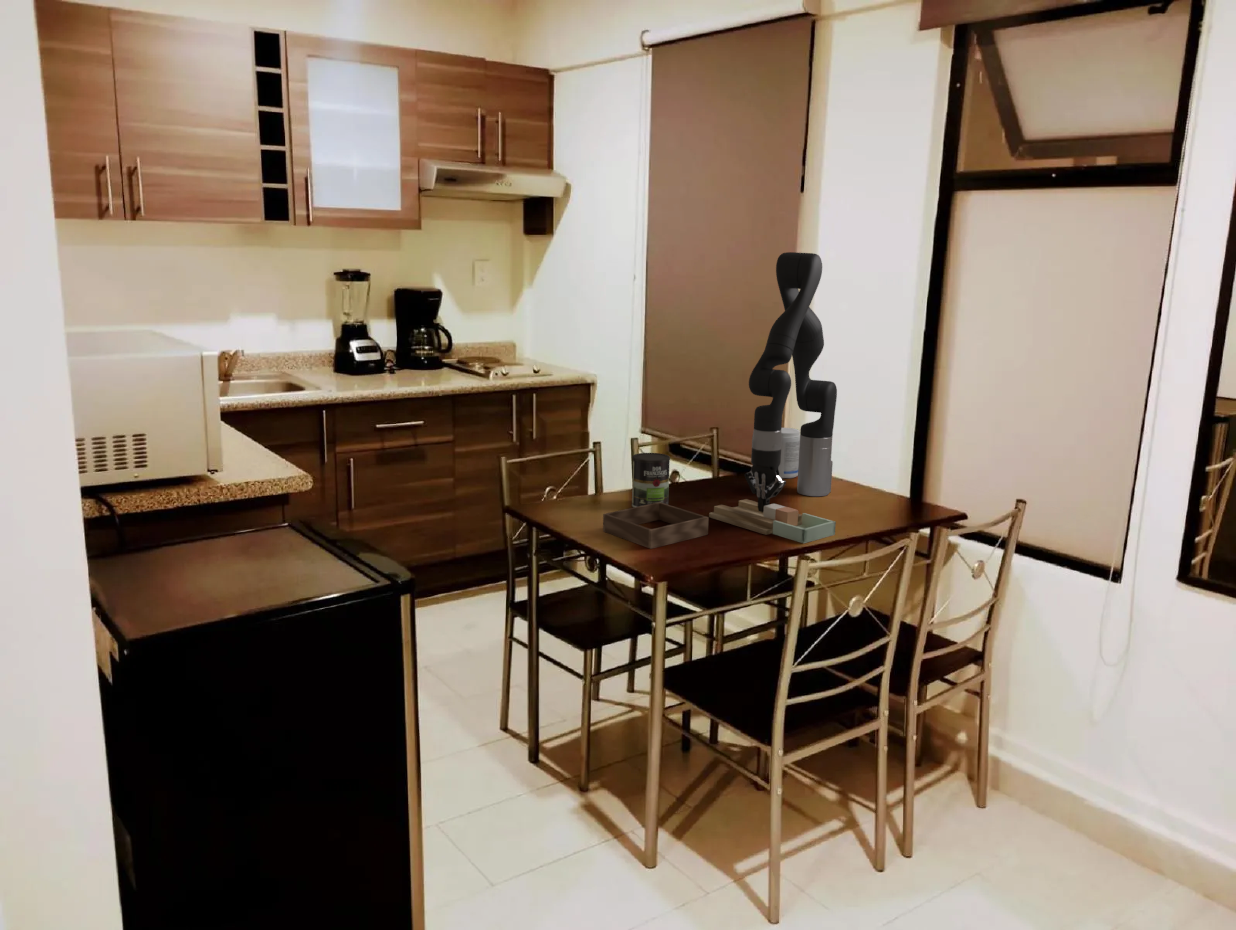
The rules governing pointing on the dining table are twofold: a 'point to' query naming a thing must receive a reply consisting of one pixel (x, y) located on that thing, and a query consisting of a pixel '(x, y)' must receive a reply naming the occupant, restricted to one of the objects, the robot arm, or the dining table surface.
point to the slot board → (742, 523)
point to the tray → (805, 529)
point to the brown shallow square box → (680, 530)
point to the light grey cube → (771, 510)
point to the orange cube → (787, 515)
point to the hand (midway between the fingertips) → (763, 511)
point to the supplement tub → (789, 453)
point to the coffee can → (650, 479)
